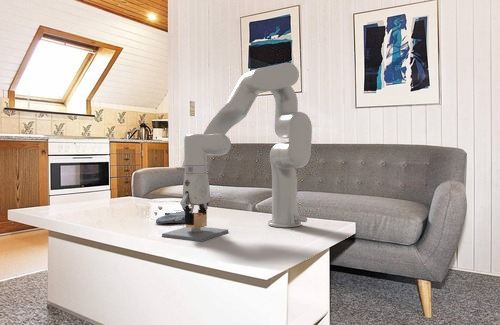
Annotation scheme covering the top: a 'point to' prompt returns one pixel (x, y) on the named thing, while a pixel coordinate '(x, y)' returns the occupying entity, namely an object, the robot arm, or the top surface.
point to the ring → (199, 220)
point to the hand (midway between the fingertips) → (196, 222)
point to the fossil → (172, 218)
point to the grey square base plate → (195, 233)
